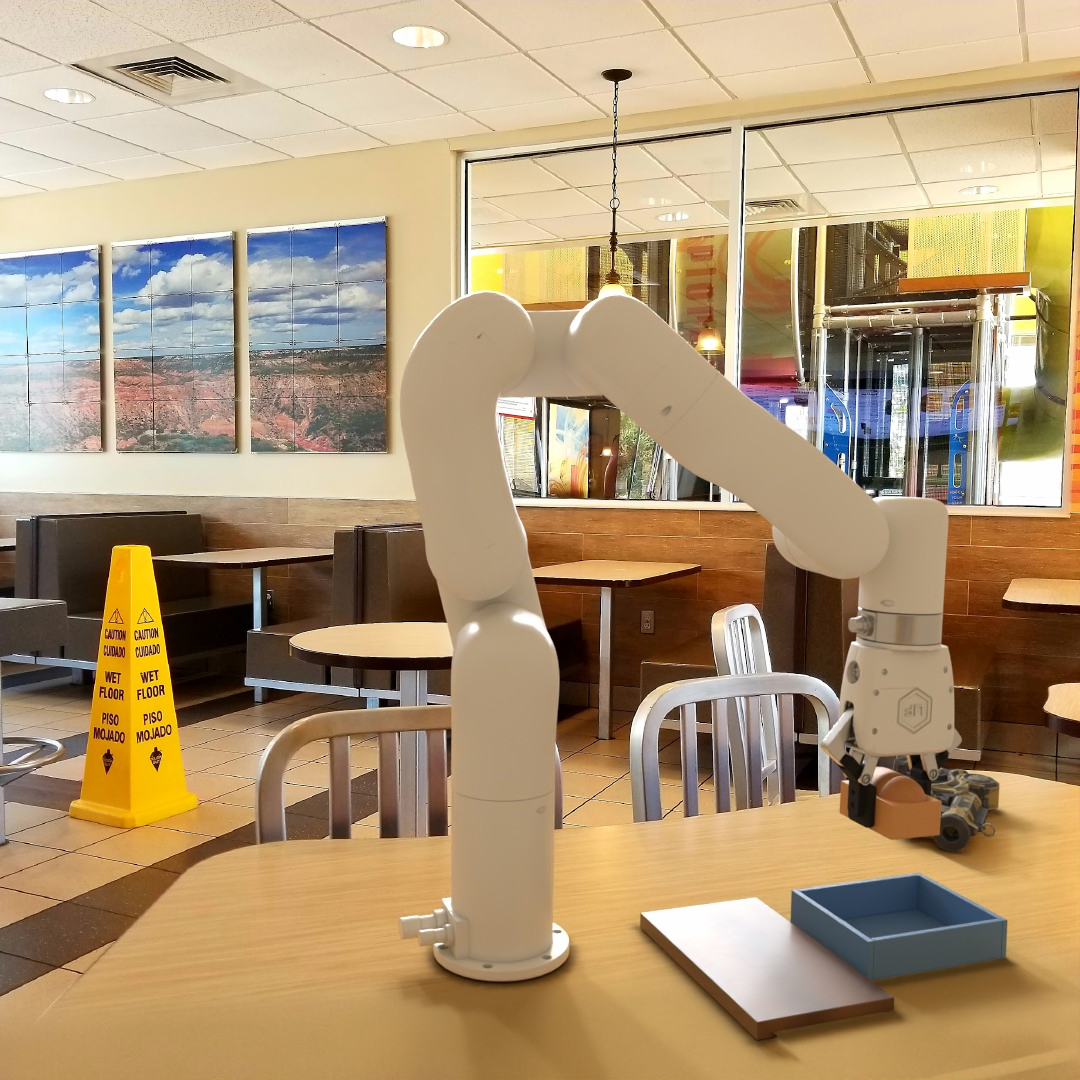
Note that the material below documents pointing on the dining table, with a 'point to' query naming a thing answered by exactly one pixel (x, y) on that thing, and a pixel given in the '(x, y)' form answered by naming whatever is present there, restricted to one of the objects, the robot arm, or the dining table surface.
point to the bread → (899, 806)
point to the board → (763, 966)
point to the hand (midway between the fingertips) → (888, 818)
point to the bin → (898, 925)
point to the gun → (959, 804)
